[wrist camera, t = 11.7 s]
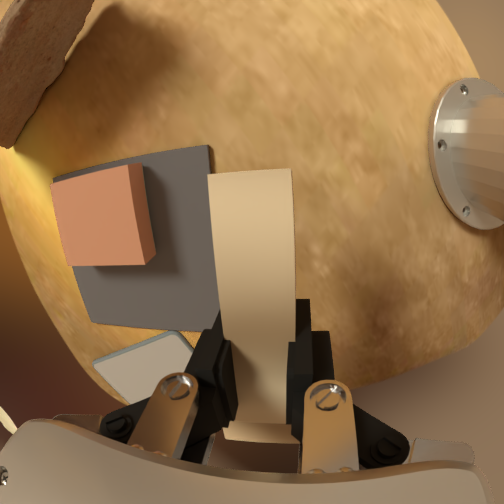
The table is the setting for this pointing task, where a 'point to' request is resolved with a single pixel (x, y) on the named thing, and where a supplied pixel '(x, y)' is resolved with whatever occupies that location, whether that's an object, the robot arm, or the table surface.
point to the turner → (256, 293)
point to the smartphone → (144, 364)
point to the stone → (33, 55)
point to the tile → (104, 217)
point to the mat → (162, 251)
